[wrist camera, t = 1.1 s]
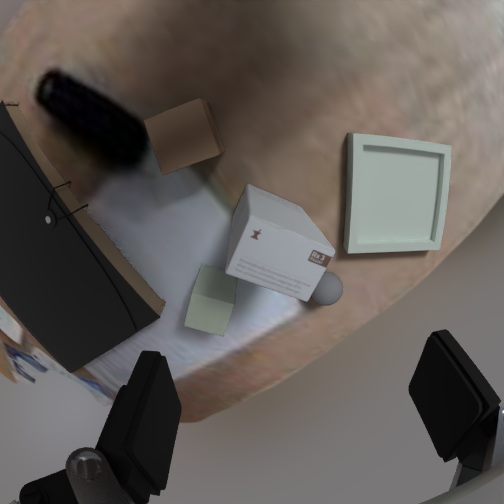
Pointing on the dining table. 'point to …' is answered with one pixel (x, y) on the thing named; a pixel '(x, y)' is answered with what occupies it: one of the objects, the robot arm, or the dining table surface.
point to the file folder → (61, 258)
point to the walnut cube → (184, 135)
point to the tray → (395, 194)
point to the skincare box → (276, 245)
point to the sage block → (211, 301)
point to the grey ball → (328, 289)
